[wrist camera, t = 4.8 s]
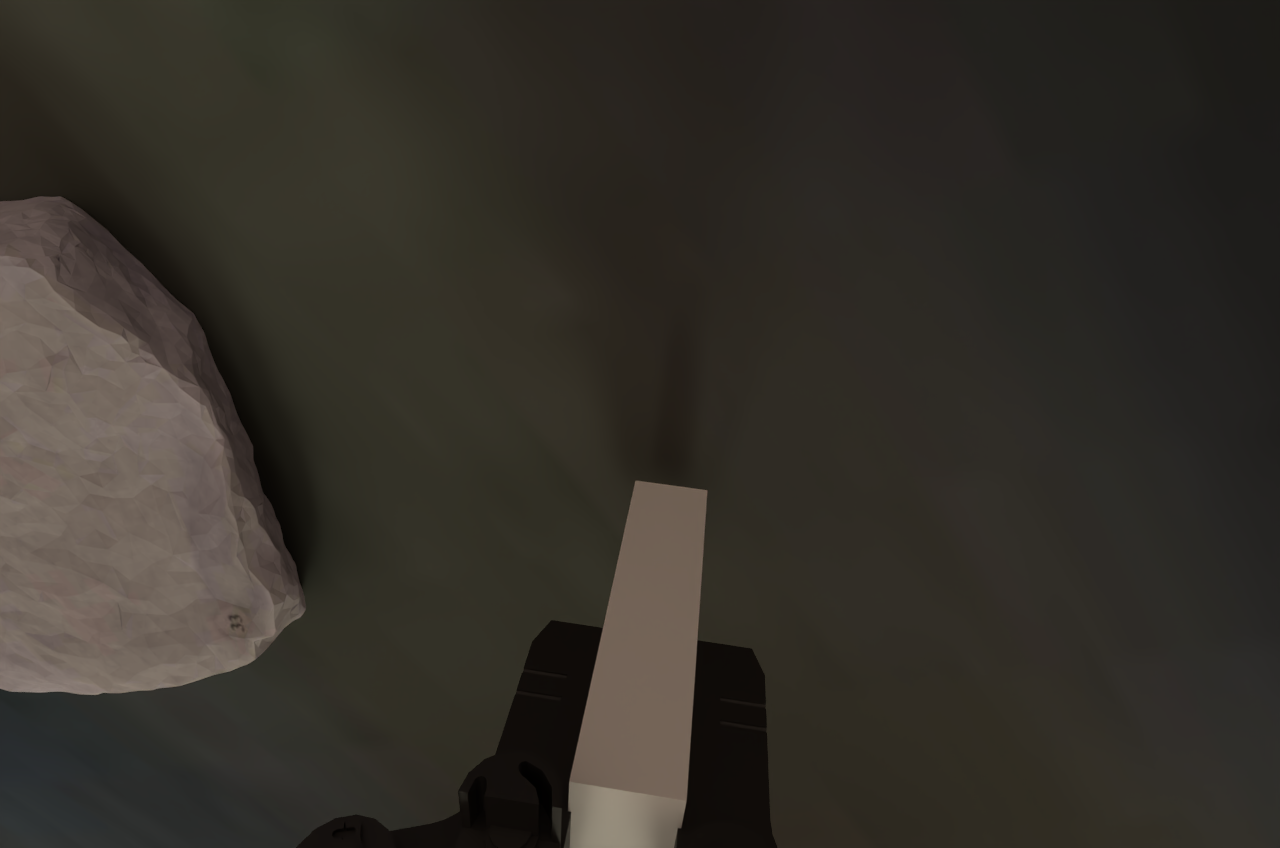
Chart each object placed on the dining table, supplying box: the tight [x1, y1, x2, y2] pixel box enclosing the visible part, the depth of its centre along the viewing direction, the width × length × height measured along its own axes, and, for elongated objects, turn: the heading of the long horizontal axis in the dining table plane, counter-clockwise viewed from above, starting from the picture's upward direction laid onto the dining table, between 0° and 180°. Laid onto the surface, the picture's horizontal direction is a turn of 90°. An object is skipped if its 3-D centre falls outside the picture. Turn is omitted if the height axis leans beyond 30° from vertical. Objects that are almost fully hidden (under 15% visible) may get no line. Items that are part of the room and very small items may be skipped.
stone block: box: [0, 196, 306, 695], centre depth 17 cm, size 12×5×10 cm
